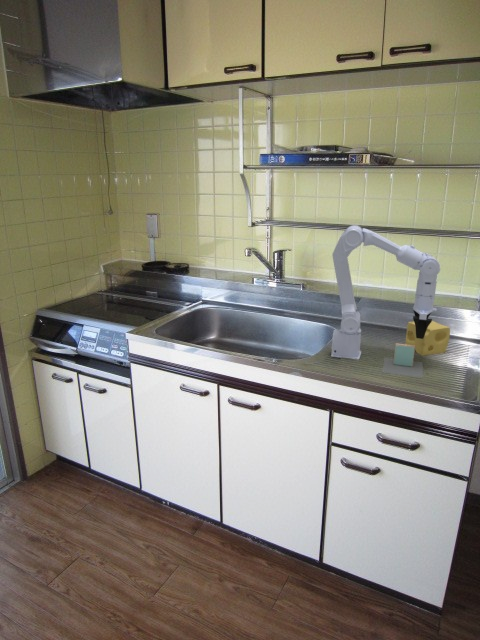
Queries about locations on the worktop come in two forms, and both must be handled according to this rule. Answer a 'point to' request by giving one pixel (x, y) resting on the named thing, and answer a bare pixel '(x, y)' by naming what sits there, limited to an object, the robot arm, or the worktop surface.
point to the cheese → (429, 338)
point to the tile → (404, 354)
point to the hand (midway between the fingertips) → (419, 334)
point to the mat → (403, 368)
